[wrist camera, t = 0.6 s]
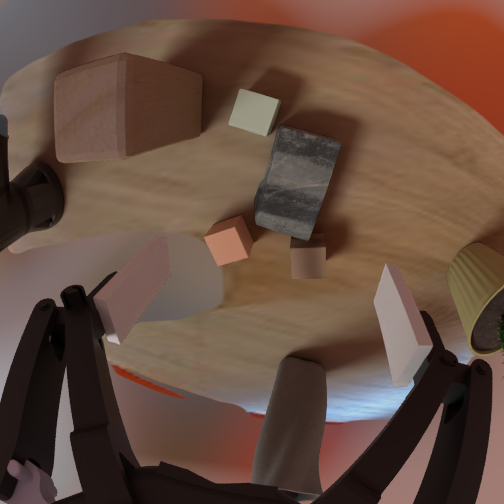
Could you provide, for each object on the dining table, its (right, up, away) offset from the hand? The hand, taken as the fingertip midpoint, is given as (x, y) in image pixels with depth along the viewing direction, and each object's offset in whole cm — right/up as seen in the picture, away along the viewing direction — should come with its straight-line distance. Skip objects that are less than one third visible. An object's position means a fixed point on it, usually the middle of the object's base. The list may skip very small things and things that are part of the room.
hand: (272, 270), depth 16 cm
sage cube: (0, +20, +20) cm, 28 cm away
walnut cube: (+8, +2, +28) cm, 29 cm away
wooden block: (-13, +23, +21) cm, 33 cm away
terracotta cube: (-4, +4, +29) cm, 29 cm away
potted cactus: (+39, -2, +24) cm, 46 cm away
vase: (+9, -24, +41) cm, 49 cm away
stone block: (+5, +12, +24) cm, 27 cm away
